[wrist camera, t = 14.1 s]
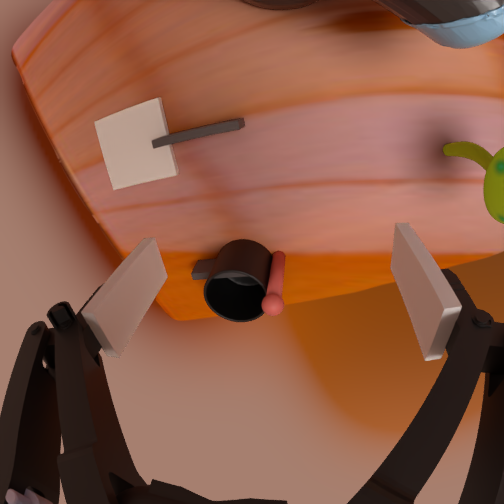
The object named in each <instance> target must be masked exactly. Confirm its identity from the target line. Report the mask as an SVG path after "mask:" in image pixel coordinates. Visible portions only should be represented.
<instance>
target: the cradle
mask: <svg viewBox="0 0 504 504" xmlns="http://www.w3.org/2000/svg"><path fill="white" fill-rule="evenodd" d="M244 126H245V124H244V119H243V118H239V119H234V120H229V121H224V122H219V123H214V124H209V125H205V126H201V127H196V128H192V129H188V130H184V131H180V132H176V133H172V134H169V135H166V136H162V137H159V138H156V139H154V140H151V142H152V145H153V149H155V148H158V147H162V146H166V145H170V144H174V143H178V142H182V141H186V140H190V139H195V138H199V137H204V136H209V135H213V134H218V133H223V132H229V131H234V130H240V129H241V128H243V127H244ZM215 261H216V259H206V260H198V262H197V264H196V265H195V267H194V269H193V271H192V273H191V275H192V278H193V280H199V279H208V277H209V274H210V272H211V270H212V268H213V266H214V263H215ZM284 266H285V254H284V253H283V252H281V251H277V252H275V253H274V254H273V257H272V263H271V270H270V276H269V282H268V288H267V294H266V296H265V297H264V299H263V300H262V309H263V311H264V312H265V313H266V314H268V315H271V316H275V315H278V314H279V313H281V311H282V310H283V308H284V302H283V299H282V298H281V297H282V287H283V277H284ZM246 276H247V275H244V274H240V273H223V274H220V275H218V276H216V277H214V278H231V277H246Z"/></svg>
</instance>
